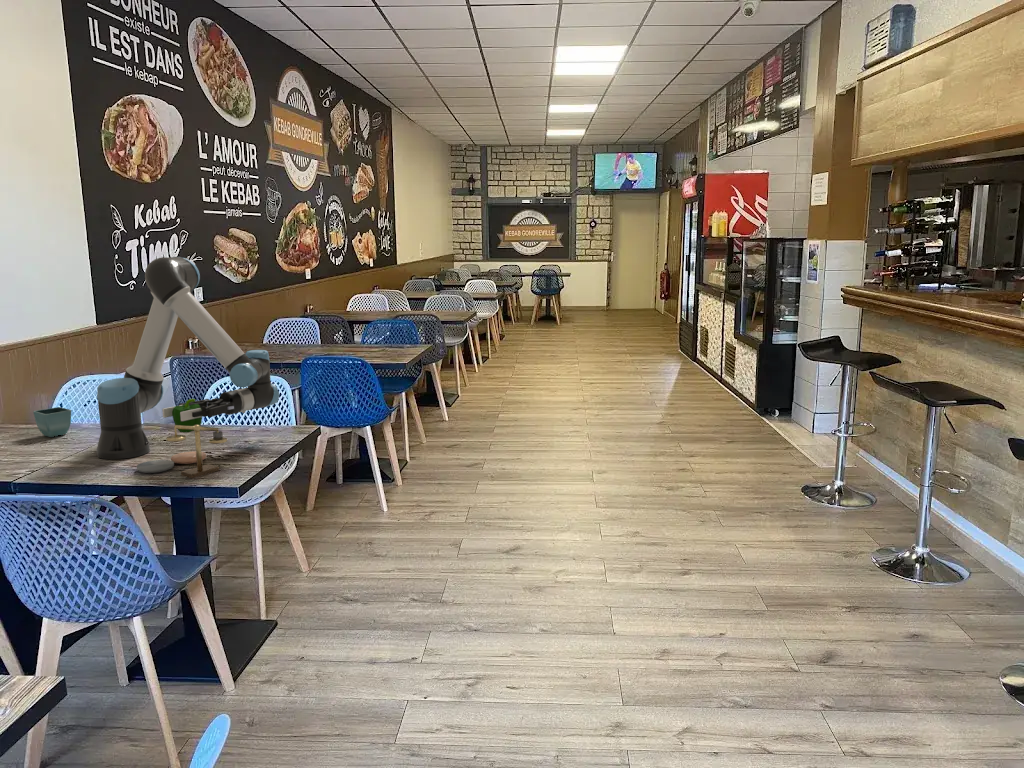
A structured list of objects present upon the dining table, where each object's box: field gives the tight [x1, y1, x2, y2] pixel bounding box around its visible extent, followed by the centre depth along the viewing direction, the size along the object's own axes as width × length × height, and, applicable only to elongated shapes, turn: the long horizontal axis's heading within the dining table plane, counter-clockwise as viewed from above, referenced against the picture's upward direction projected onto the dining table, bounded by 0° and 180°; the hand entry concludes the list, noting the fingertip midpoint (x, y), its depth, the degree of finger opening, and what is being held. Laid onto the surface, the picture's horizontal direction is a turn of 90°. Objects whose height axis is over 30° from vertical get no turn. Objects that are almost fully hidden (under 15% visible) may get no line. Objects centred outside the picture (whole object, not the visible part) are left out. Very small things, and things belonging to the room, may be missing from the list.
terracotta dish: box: [170, 450, 207, 465], centre depth 230 cm, size 10×10×2 cm
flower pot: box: [33, 406, 72, 438], centre depth 259 cm, size 9×9×9 cm
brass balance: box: [166, 424, 228, 479], centre depth 217 cm, size 5×18×16 cm, turn 148°
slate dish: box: [136, 459, 175, 474], centre depth 221 cm, size 10×10×2 cm
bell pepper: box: [172, 398, 203, 434], centre depth 228 cm, size 8×8×10 cm
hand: (172, 414), depth 224 cm, fingers closed on bell pepper, 8 cm apart
